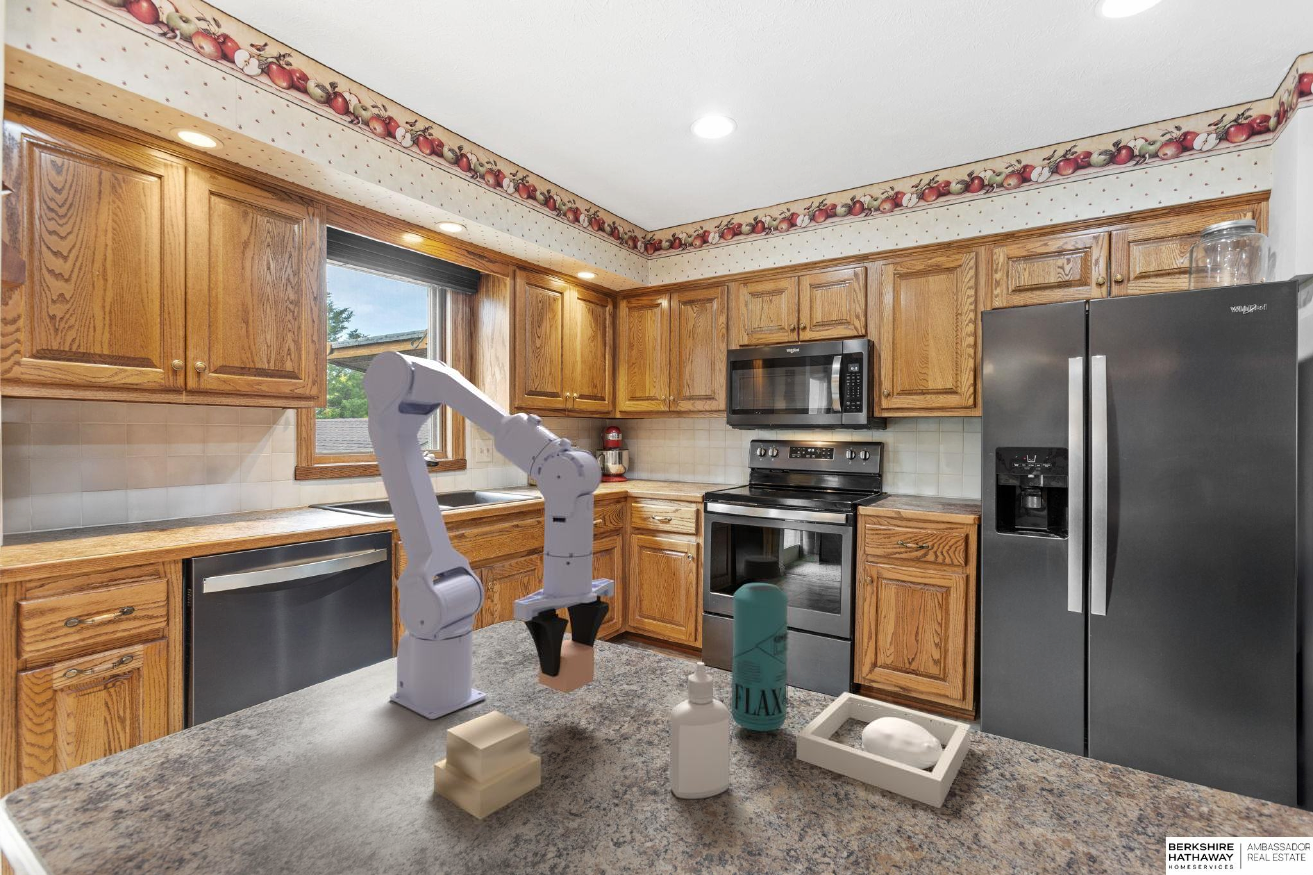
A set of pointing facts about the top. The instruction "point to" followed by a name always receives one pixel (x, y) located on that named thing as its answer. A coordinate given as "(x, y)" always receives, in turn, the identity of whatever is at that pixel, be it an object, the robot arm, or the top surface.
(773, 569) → the beverage bottle
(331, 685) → the top surface
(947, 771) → the garlic dish
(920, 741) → the white rounded lump
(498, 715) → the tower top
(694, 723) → the eye dropper bottle
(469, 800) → the tower base
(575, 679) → the terracotta block
